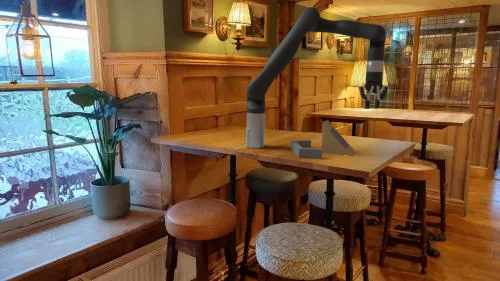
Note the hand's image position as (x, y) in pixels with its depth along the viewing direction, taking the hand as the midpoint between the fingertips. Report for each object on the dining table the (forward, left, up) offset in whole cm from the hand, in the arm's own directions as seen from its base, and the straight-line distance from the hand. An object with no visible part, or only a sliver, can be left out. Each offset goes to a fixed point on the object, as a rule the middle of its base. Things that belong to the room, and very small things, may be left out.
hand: (371, 108), depth 168 cm
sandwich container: (-15, -1, -22) cm, 26 cm away
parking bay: (-31, 0, -21) cm, 37 cm away
